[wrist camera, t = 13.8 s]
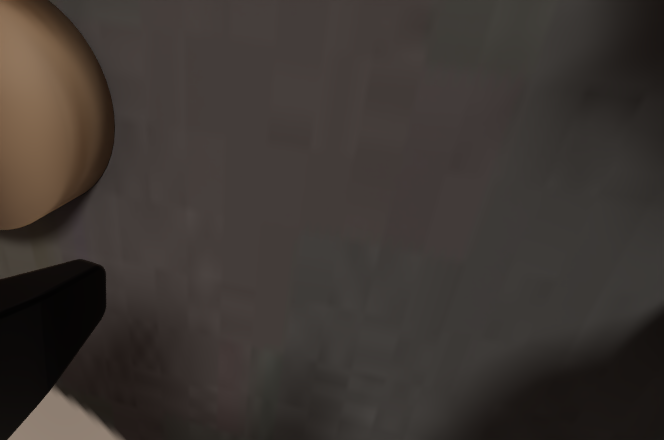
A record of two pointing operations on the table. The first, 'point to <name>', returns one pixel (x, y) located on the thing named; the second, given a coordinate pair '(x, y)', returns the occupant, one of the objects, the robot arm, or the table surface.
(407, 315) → the table surface
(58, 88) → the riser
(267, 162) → the table surface
